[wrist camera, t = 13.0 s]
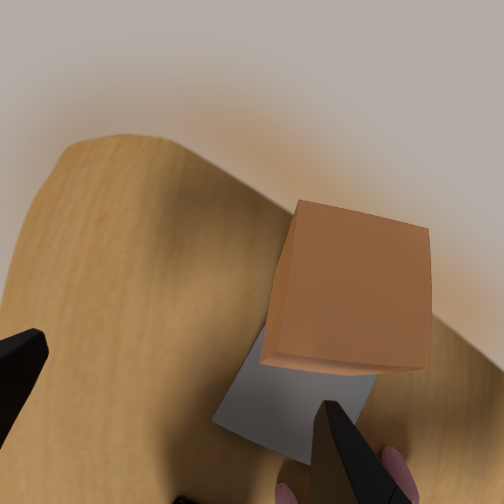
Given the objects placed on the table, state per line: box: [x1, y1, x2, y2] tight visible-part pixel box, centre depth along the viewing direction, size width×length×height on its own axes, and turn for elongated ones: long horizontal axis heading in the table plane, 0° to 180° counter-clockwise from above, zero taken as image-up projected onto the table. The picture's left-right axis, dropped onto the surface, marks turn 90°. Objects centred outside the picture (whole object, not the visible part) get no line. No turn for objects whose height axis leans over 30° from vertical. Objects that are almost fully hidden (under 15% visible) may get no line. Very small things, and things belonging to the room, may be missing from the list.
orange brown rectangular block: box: [259, 200, 432, 376], centre depth 17 cm, size 6×6×10 cm
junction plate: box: [211, 323, 378, 466], centre depth 19 cm, size 13×9×4 cm
